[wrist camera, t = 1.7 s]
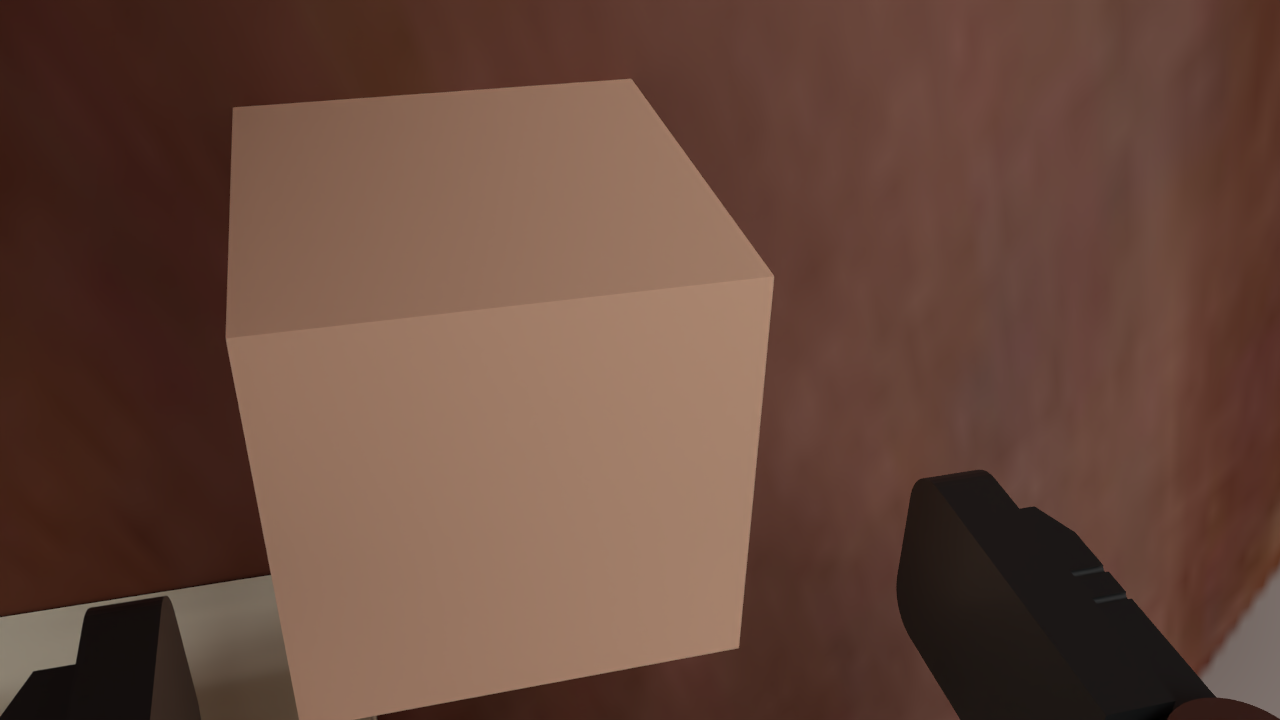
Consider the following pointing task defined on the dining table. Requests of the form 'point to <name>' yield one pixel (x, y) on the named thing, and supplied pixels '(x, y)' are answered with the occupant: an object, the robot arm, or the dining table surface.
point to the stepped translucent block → (212, 638)
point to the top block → (491, 389)
